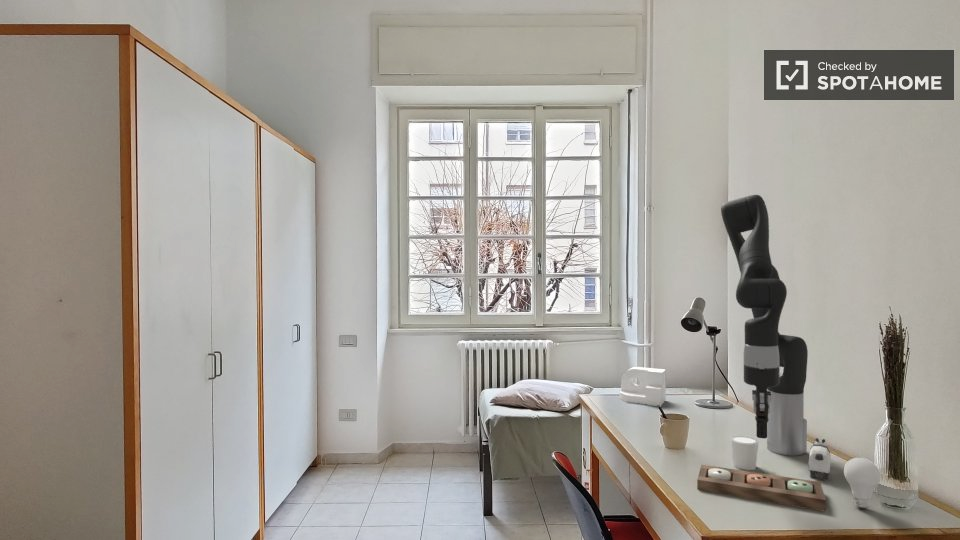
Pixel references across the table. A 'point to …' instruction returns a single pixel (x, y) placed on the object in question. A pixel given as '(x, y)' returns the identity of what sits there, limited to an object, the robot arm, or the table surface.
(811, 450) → the giant panda
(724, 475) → the button one
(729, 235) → the robot arm
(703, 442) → the table surface
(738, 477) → the button board
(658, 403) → the tape dispenser
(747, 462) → the white tapered cylinder
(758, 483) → the button three
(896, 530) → the table surface
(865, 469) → the light bulb
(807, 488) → the button two
